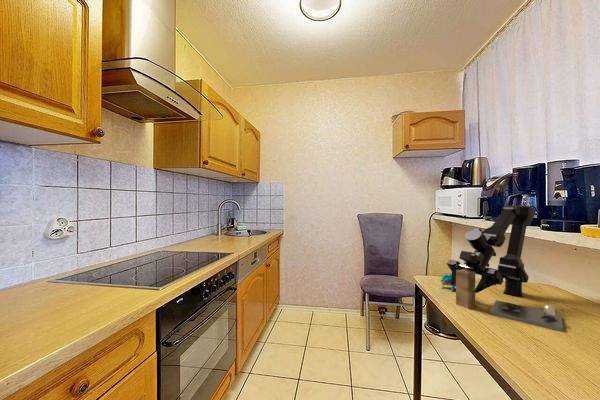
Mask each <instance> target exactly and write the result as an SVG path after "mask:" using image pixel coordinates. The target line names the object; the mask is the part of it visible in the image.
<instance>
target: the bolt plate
mask: <svg viewBox="0 0 600 400" xmlns="http://www.w3.org/2000/svg"><path fill="white" fill-rule="evenodd" d="M491 306H492V307H491V308H490V311H489V314H490V315H492V316H496V317H500V318H506V319H509V320H513V321H516V322H517V321H518V322H521V323H526V324H530V325H534V326H538V327H541V328H546V329H550V330H554V331H558V332H563V333H564V324H563V318H562V317H563V315H562V313H558V312H556V307H555V306H554V305H551V304H550V305H549V304H544V305H543V309H540V308H535V307H530V306H525V305H520V304H516V303H511V302H505V301H501V300H497V299H496V300H495V301H494V303H493V305H491Z"/></svg>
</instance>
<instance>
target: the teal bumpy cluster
mask: <svg viewBox="0 0 600 400" xmlns="http://www.w3.org/2000/svg"><path fill="white" fill-rule="evenodd" d="M451 277H452V273H449V274H447V273H446V274H445V273H444V276H443V275H442V278H441V277H440V280H439V281H440V282H441V289H444V287H445V286H451V289H450V291H451V292H454V291H455V289H456V283H455V284H454V285H453V286H452V285H451Z"/></svg>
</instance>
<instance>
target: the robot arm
mask: <svg viewBox="0 0 600 400" xmlns="http://www.w3.org/2000/svg"><path fill="white" fill-rule="evenodd" d="M535 216H536V209H535V208H533V206H531V205H505V206H503V208H502V211H501V212H500V214H499V215H498V216H497V218H496V219H495V221H494V222H493V224H492V225H491V226H489V227H487V228H485V229H484V230H482V228H480V227H474V228H473V229H471V230H469V231H467V232H466V233H465V235H464V237H465V239H466V240H467V242H468V244H469V245H470V246H471V248H472V249H473V250H474V251H473V252H471V251H466V250H461V252H460V254H459V257H458V258H459V260H462V261H463V264H464V265H462V264H461V262H460V261H458V260H454V259H449V260H448V261H447V262H446V265H447V266H448V268H449V270H450V271H451V275H452V277H451V285H452V286H453V285H454V284H455V283H456V270H462V269H464V270H469V271H473V272H475V275H477V276H481V278H480V280H479V282H478V284H477V285H476V286H475V294H478V293H481V292H482V291H483V290H485V289H487V288H488V289H489V288H490V287H493V286H497V285H502V284H503V283H504V289H503V292H502V293H503V294H504V295H509V296H515V297H519V298H520V297H521V298H523V297H524V294H525V293H524V292H523V283H528V282H529V275H528V273H527V272H526V270H525V264H524V262H523V260H522V253H523V247H524V241H525V237H526V231H527V227H528V226H529V225H530V224H531V223H532V222H533V221H534V217H535ZM510 225H511V229H510V234H509V239H508V245H507V250H506V253H505V255H504V256H501V257H499V261H498V265H497V269H495V268H493V267H492V268H491V267H490V264H489V262H490V260H491V259H492V258H493V257H497V253H496V250H495V249H494V247H495V248H501V247H503V245H504V244H505V240H506V236H505V233H506V232H507V230H508V229H509V228H510ZM452 286H451V287H452Z"/></svg>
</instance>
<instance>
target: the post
mask: <svg viewBox="0 0 600 400" xmlns="http://www.w3.org/2000/svg"><path fill="white" fill-rule="evenodd" d="M475 289H476V274H475V272H473V271H469V270H464V269H462V270H456V286H455V305H458V306H459V307H463V308H466V309H470V308H471V309H472V308H475V307H476V293H475Z"/></svg>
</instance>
